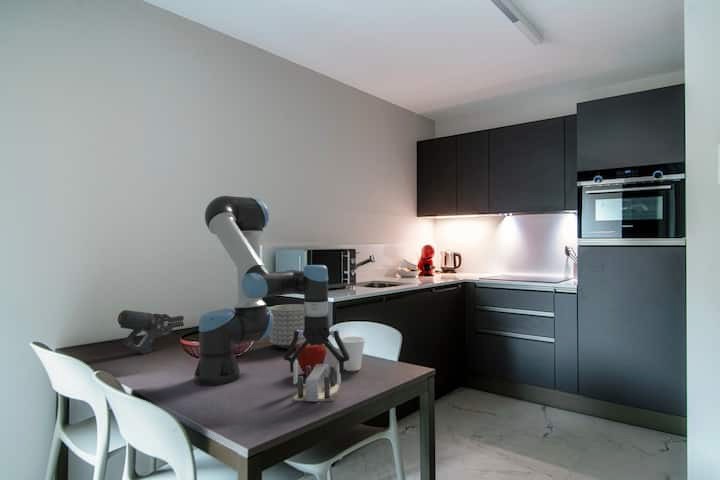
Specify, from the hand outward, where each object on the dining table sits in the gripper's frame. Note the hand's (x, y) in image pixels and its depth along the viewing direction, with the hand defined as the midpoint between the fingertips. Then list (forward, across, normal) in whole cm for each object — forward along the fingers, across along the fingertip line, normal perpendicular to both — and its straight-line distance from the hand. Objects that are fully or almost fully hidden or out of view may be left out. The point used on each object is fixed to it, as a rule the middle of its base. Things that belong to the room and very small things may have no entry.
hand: (317, 383), depth 128 cm
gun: (+3, -84, +48) cm, 97 cm away
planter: (+3, -24, +58) cm, 63 cm away
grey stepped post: (+2, 0, 0) cm, 2 cm away
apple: (+3, -6, +18) cm, 20 cm away
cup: (+3, +8, +26) cm, 27 cm away
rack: (+3, 0, 0) cm, 3 cm away
